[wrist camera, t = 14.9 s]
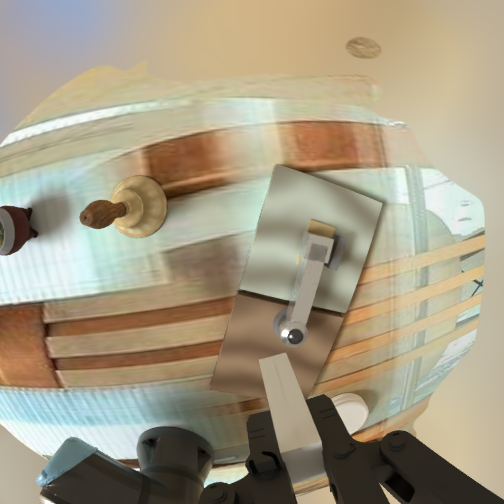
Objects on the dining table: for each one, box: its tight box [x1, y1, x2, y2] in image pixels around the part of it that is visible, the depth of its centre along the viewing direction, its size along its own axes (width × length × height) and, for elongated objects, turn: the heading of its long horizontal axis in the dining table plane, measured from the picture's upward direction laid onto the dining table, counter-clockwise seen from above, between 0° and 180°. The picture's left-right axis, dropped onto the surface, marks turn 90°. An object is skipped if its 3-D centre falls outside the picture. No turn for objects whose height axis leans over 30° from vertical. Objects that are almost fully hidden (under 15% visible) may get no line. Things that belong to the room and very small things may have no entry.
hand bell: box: [80, 176, 167, 238], centre depth 28 cm, size 8×8×16 cm
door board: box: [210, 164, 383, 400], centre depth 38 cm, size 34×16×4 cm, turn 164°
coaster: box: [331, 393, 369, 435], centre depth 44 cm, size 10×10×4 cm
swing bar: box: [277, 231, 334, 347], centre depth 36 cm, size 15×4×4 cm, turn 167°
